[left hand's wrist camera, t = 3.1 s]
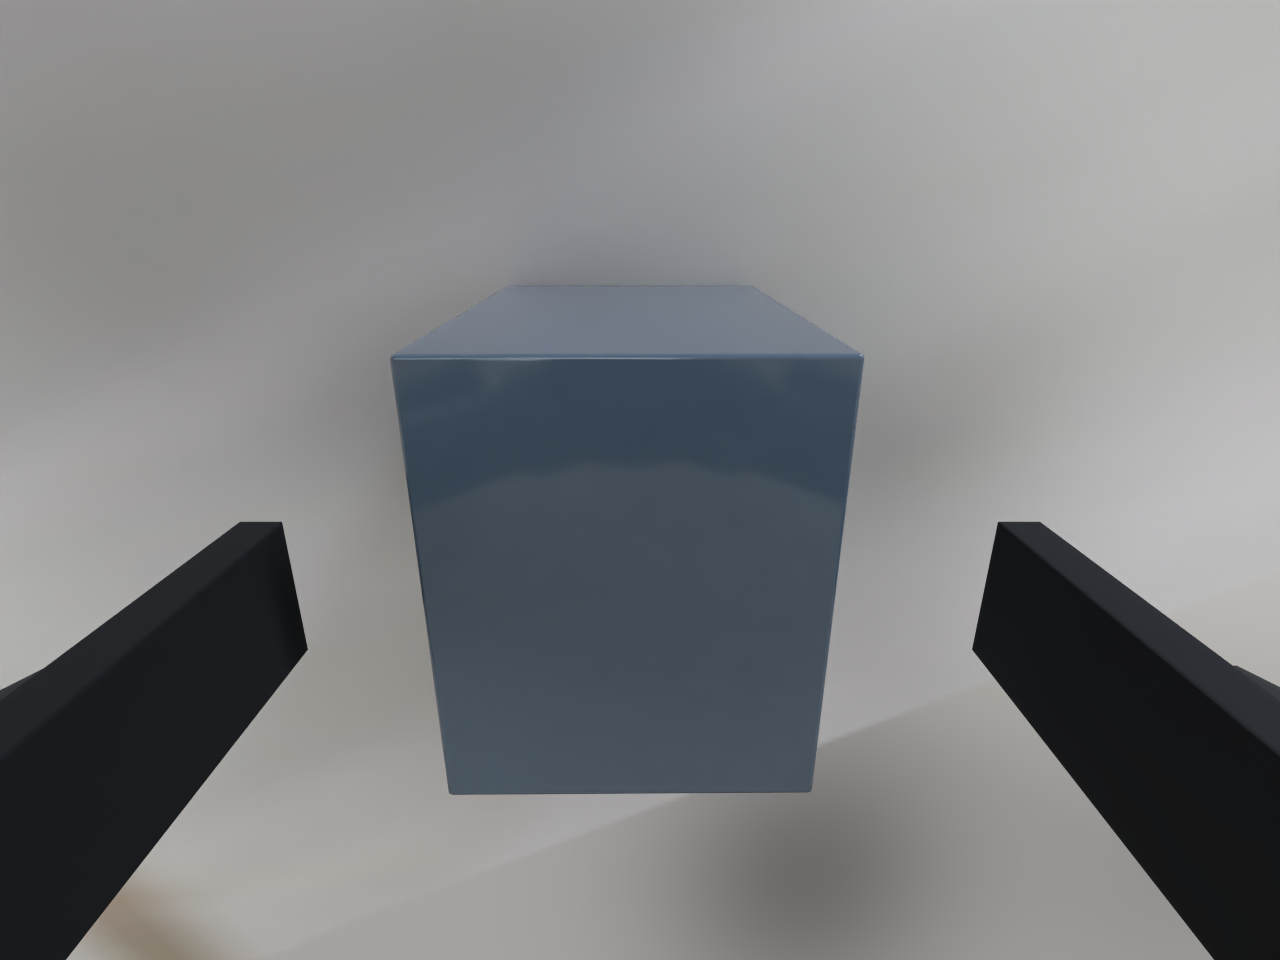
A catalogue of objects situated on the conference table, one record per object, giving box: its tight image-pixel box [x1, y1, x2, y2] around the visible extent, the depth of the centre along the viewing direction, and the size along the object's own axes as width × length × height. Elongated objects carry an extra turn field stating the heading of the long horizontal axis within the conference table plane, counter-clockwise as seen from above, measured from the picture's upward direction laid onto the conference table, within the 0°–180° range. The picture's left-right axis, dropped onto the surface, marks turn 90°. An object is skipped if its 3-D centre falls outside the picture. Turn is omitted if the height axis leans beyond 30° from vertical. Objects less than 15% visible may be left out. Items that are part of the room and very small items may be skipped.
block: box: [390, 286, 864, 795], centre depth 16 cm, size 7×8×10 cm
